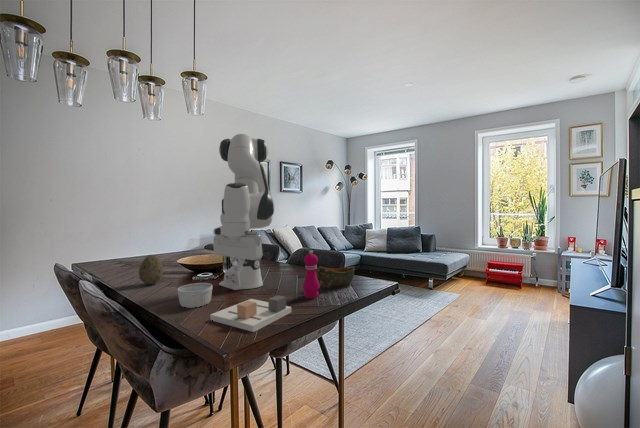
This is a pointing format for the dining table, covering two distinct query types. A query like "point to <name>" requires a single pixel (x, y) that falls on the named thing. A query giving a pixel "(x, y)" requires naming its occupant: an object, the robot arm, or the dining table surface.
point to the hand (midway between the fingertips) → (237, 270)
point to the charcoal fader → (277, 303)
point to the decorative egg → (150, 270)
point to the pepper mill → (311, 276)
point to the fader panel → (251, 323)
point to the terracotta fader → (246, 309)
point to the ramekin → (195, 294)
